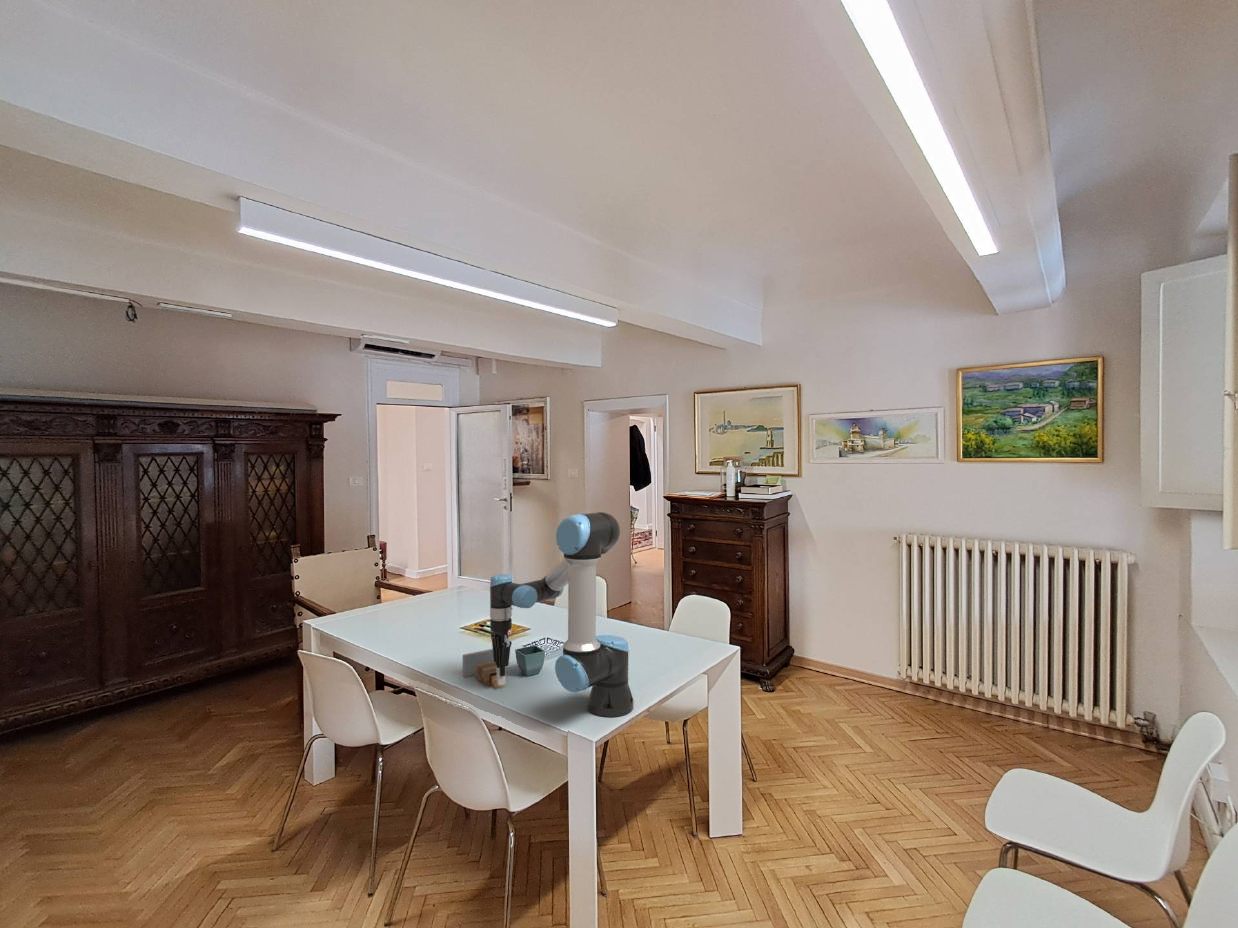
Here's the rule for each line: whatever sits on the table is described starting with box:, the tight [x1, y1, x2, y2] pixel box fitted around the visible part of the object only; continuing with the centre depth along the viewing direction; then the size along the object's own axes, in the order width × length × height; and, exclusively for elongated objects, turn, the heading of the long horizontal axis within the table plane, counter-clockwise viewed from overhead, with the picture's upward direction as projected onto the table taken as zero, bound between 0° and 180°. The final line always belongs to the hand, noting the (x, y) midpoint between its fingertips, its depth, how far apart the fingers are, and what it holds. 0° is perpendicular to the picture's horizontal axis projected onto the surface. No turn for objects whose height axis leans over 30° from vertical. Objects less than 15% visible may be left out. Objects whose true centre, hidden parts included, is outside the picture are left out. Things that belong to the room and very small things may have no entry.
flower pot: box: [514, 645, 546, 677], centre depth 218 cm, size 9×9×9 cm
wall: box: [462, 648, 494, 678], centre depth 219 cm, size 2×14×8 cm, turn 125°
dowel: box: [490, 673, 505, 690], centre depth 208 cm, size 10×3×3 cm, turn 35°
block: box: [476, 661, 507, 687], centre depth 211 cm, size 8×8×6 cm
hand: (500, 683), depth 204 cm, fingers closed
